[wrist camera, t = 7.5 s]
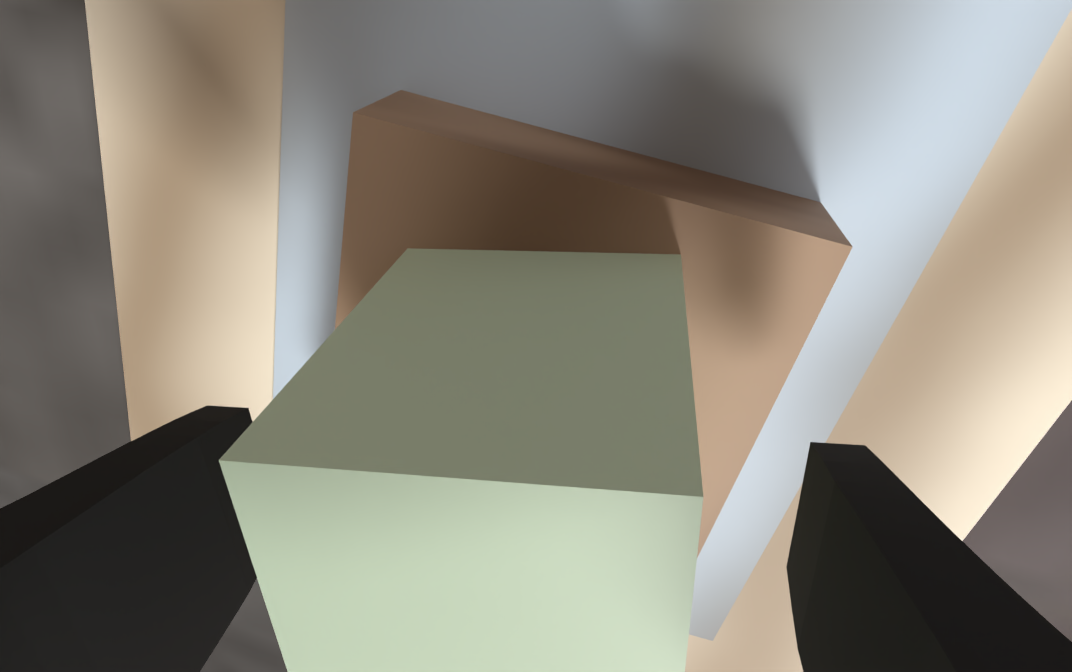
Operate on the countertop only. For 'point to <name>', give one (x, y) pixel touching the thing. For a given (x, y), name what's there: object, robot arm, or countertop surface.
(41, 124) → the countertop surface
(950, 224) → the build board
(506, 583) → the green block
